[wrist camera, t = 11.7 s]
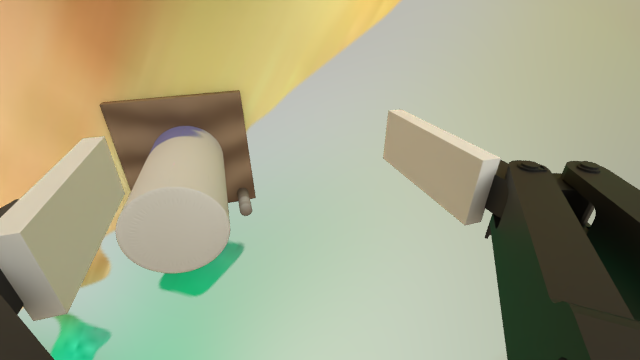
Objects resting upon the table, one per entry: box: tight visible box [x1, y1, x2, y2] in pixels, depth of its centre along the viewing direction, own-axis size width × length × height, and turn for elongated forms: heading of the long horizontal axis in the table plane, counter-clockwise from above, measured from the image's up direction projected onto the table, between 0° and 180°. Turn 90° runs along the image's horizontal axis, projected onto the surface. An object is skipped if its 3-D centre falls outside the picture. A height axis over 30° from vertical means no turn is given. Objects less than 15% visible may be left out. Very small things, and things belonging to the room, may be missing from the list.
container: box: [116, 126, 230, 273], centre depth 38 cm, size 10×10×20 cm
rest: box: [100, 90, 255, 216], centre depth 44 cm, size 18×18×8 cm
